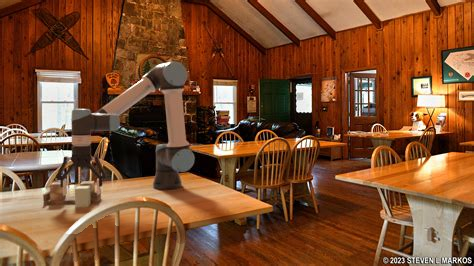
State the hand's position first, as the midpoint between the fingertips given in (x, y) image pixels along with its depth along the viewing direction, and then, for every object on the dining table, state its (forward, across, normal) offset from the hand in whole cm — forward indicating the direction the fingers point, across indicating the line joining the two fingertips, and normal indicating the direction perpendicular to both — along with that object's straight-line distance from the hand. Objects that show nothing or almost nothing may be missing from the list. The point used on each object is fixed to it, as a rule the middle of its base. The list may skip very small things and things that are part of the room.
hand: (81, 194), depth 152 cm
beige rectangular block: (+5, 0, 0) cm, 5 cm away
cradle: (+5, -6, +8) cm, 11 cm away
